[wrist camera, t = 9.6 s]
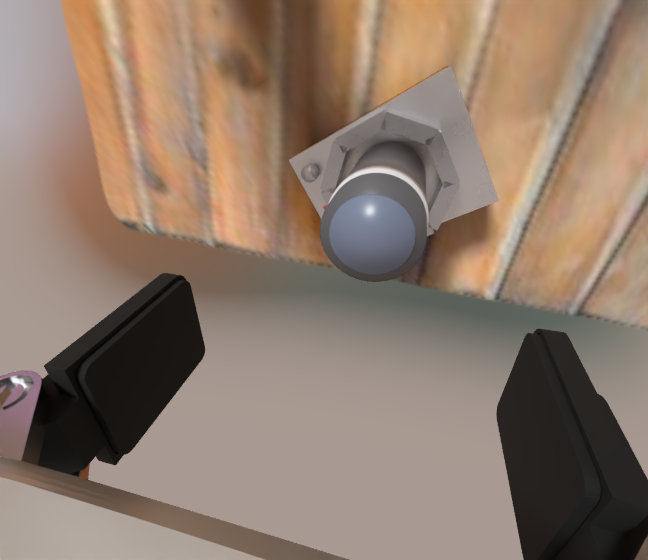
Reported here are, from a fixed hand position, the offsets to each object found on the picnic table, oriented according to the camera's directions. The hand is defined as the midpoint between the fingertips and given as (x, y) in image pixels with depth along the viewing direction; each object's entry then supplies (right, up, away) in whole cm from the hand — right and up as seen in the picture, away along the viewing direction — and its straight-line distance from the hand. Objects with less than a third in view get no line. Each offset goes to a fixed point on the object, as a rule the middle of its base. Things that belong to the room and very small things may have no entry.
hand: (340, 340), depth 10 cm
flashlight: (+4, +9, +15) cm, 18 cm away
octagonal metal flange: (+5, +11, +19) cm, 23 cm away
